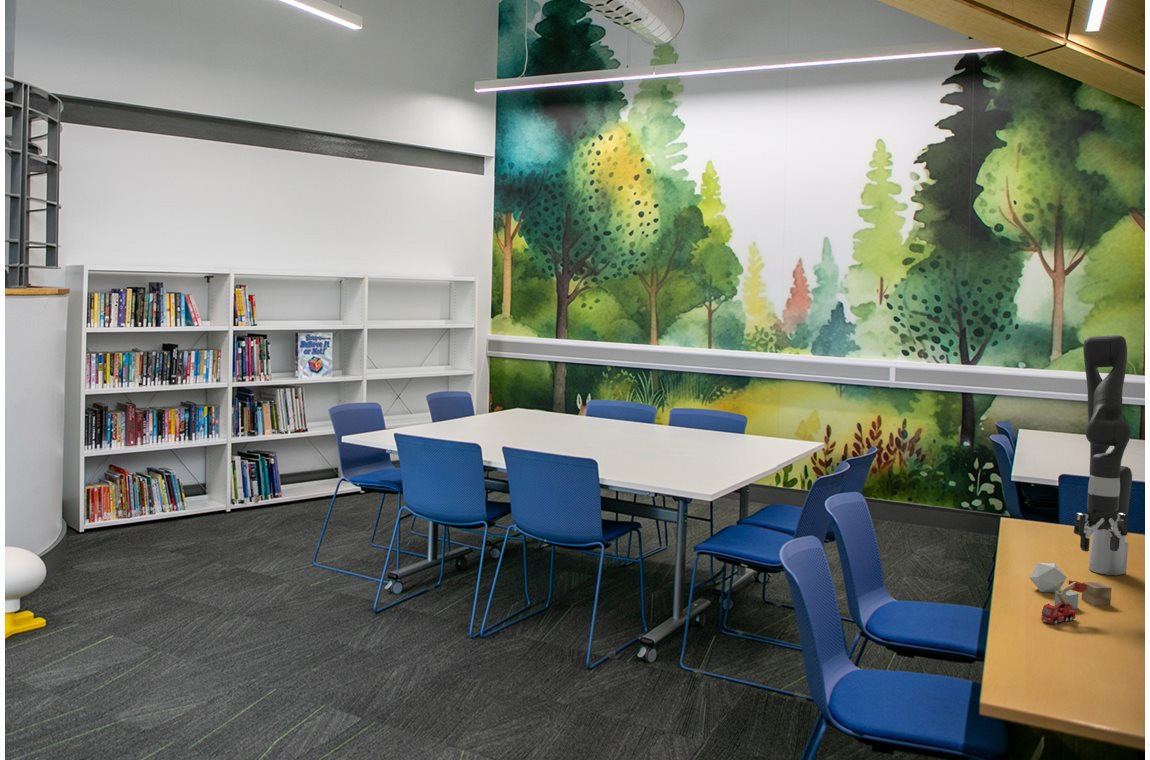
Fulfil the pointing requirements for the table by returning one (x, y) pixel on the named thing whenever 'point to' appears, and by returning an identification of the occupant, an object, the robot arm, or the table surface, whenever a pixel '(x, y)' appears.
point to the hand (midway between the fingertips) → (1099, 550)
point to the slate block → (1072, 599)
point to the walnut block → (1097, 594)
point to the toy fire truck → (1062, 605)
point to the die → (1047, 577)
